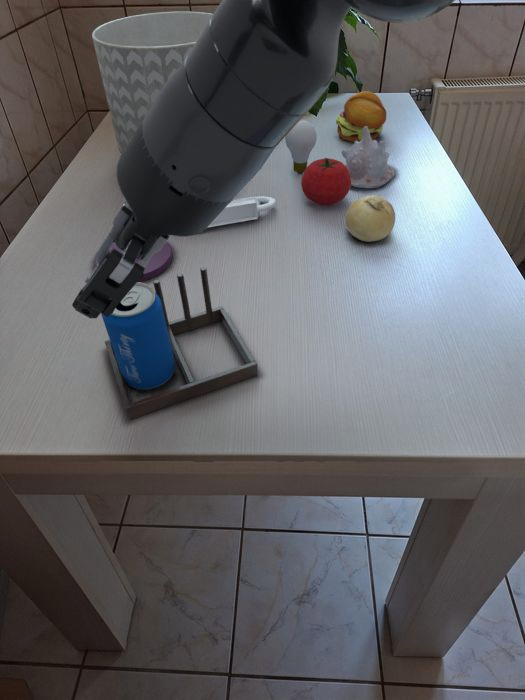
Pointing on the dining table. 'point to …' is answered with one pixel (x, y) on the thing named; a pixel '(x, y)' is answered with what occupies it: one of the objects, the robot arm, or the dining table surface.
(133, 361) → the beverage can
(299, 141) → the light bulb
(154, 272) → the plum lid
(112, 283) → the robot arm
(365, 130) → the seashell
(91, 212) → the dining table surface
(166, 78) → the planter
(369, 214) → the onion
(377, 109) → the cheeseburger
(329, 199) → the tomato
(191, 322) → the drying rack
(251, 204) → the oval loop handle
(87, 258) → the dining table surface
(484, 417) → the dining table surface
